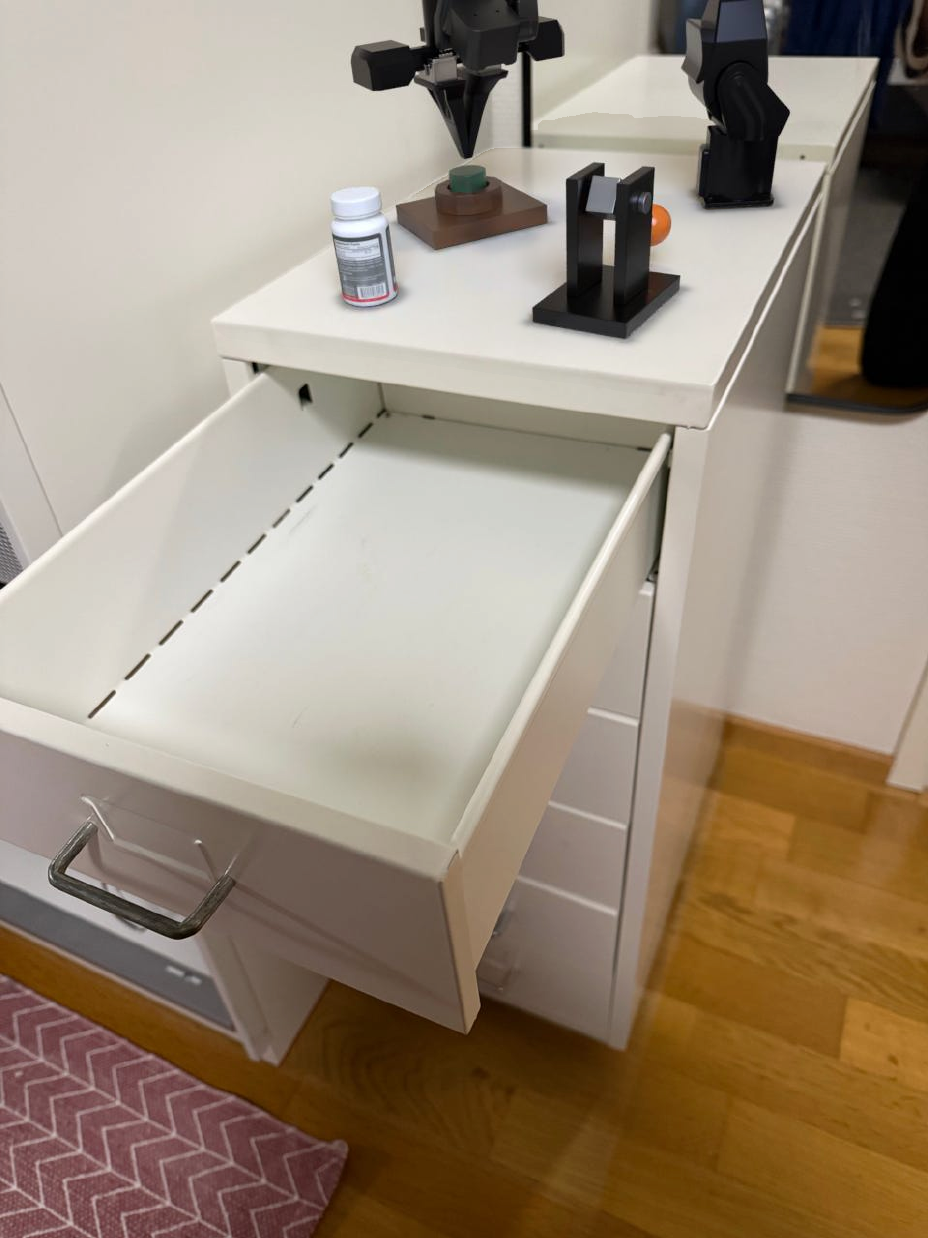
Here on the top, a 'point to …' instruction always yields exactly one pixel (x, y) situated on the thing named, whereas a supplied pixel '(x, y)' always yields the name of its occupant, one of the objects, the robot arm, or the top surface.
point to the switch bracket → (606, 291)
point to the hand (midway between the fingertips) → (466, 157)
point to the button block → (470, 213)
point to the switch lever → (605, 207)
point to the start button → (467, 178)
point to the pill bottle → (363, 247)
